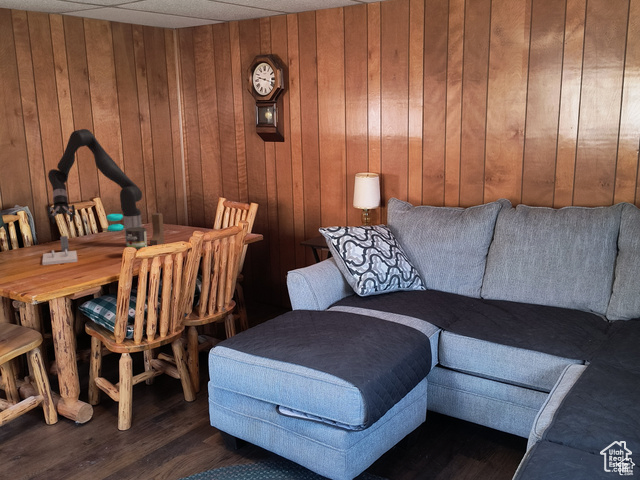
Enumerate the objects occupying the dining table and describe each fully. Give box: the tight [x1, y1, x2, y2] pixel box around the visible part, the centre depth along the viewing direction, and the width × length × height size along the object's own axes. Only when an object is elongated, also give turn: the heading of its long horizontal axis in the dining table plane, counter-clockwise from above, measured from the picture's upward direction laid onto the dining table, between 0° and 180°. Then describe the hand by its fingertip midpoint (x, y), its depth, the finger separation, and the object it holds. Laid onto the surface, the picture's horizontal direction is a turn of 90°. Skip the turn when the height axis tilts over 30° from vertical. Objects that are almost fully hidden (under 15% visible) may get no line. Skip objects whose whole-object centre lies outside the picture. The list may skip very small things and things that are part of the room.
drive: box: [59, 235, 70, 252], centre depth 324 cm, size 5×4×8 cm
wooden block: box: [149, 212, 165, 247], centre depth 333 cm, size 9×4×18 cm, turn 169°
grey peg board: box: [42, 249, 78, 266], centre depth 308 cm, size 20×16×4 cm
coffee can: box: [126, 227, 148, 250], centre depth 313 cm, size 10×10×14 cm
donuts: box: [105, 213, 125, 232], centre depth 382 cm, size 10×10×10 cm
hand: (62, 221), depth 332 cm, fingers open, 8 cm apart
